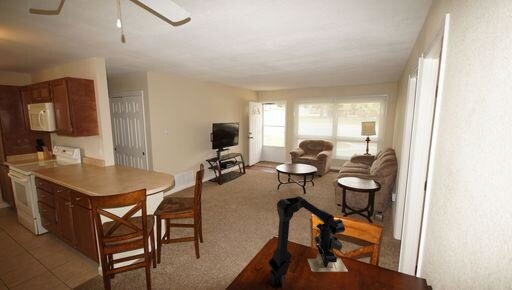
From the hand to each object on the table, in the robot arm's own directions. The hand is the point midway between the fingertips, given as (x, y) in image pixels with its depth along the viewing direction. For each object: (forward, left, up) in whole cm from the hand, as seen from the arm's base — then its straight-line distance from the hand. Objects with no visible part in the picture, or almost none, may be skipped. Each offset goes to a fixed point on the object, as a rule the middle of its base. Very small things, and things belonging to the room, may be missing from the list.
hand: (324, 263), depth 113 cm
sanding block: (0, 0, -1) cm, 1 cm away
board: (+1, -1, -2) cm, 2 cm away
